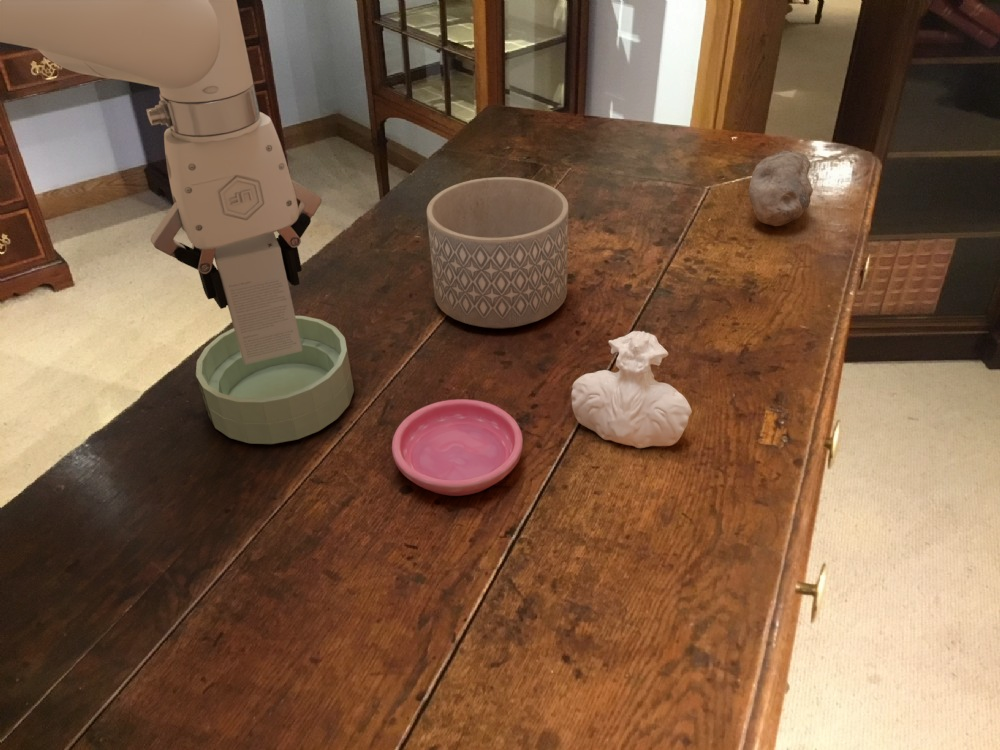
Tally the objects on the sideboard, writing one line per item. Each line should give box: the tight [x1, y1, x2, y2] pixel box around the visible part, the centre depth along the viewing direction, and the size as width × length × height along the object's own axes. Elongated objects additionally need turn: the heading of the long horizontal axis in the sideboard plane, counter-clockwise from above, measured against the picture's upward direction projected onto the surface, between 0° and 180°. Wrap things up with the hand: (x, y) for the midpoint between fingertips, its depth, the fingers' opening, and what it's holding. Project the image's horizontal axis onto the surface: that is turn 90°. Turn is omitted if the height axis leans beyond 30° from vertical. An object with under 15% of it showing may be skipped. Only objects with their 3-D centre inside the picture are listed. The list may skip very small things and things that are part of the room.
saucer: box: [391, 398, 524, 497], centre depth 82 cm, size 12×12×3 cm
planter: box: [426, 176, 569, 330], centre depth 102 cm, size 16×16×13 cm
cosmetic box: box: [214, 232, 302, 365], centre depth 84 cm, size 6×4×12 cm
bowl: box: [195, 315, 355, 445], centre depth 90 cm, size 15×15×6 cm
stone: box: [747, 150, 814, 227], centre depth 119 cm, size 9×14×10 cm, turn 150°
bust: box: [570, 330, 693, 449], centre depth 84 cm, size 12×8×11 cm
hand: (255, 289), depth 83 cm, fingers closed on cosmetic box, 6 cm apart
